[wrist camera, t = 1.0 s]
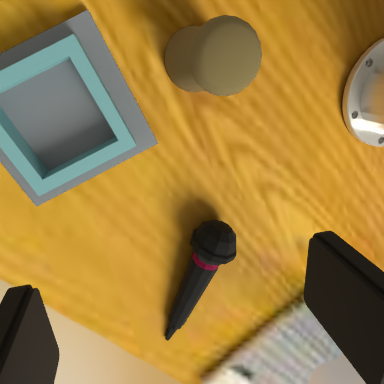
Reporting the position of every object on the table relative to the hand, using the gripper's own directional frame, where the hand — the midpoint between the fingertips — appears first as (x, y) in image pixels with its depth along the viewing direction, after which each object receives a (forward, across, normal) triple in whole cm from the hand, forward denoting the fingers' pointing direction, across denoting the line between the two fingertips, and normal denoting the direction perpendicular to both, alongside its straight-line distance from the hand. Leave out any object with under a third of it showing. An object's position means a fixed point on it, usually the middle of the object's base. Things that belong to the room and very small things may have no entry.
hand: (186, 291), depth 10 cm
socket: (+23, +8, -3) cm, 25 cm away
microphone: (+24, -3, +19) cm, 31 cm away
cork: (+24, -6, -7) cm, 26 cm away
